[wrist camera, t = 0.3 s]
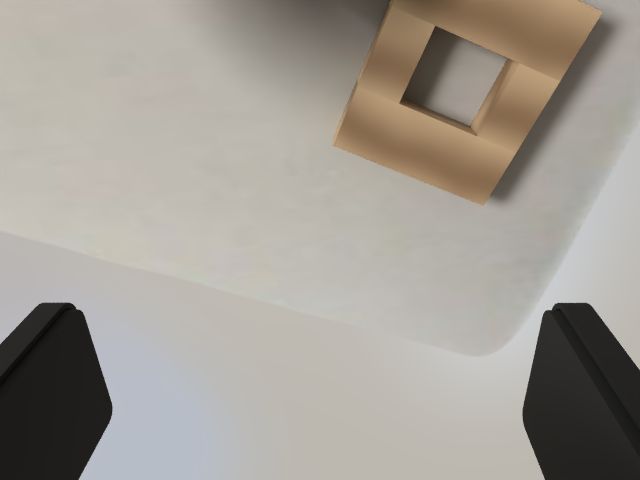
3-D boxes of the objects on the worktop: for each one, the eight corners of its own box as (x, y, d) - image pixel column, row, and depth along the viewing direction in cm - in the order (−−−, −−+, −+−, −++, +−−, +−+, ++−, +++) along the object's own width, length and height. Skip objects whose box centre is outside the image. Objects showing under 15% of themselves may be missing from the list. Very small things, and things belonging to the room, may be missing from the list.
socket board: (419, -69, 31) (424, -73, 28) (585, 9, 32) (602, 12, 30) (334, 135, 37) (333, 145, 35) (476, 192, 39) (483, 205, 36)
